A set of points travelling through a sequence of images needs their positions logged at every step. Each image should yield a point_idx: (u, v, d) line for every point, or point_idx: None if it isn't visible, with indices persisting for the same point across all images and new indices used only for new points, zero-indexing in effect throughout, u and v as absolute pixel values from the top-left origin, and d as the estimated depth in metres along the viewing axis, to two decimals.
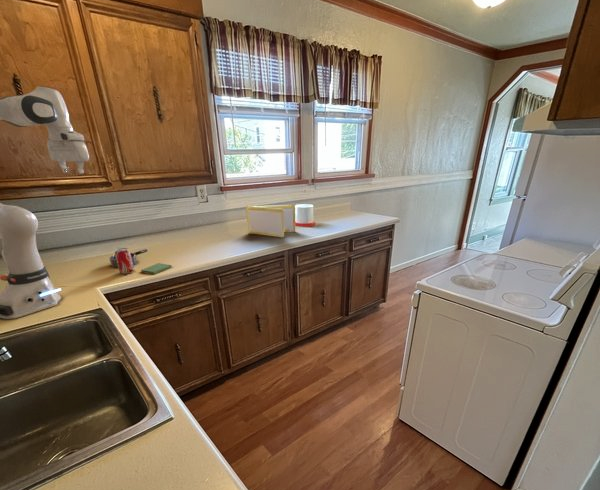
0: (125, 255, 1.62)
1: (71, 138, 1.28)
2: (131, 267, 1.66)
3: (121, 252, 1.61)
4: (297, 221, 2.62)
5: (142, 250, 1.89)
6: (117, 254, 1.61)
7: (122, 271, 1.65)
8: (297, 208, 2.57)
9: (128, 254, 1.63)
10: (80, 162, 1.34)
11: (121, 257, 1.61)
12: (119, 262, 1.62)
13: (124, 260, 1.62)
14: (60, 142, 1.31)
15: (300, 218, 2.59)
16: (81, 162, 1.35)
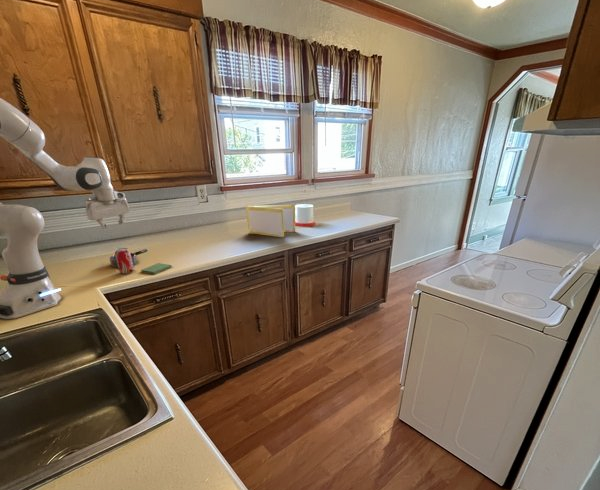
0: (125, 255, 1.62)
1: None
2: (131, 267, 1.66)
3: (121, 252, 1.61)
4: (297, 221, 2.62)
5: (142, 250, 1.89)
6: (117, 254, 1.61)
7: (122, 271, 1.65)
8: (297, 208, 2.57)
9: (128, 254, 1.63)
10: None
11: (121, 257, 1.61)
12: (119, 262, 1.62)
13: (124, 260, 1.62)
14: (112, 200, 1.51)
15: (300, 218, 2.59)
16: None
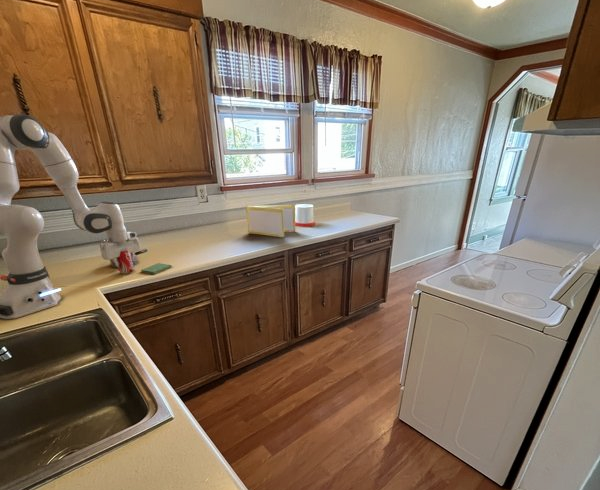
0: (125, 255, 1.62)
1: None
2: (131, 267, 1.66)
3: (121, 252, 1.61)
4: (297, 221, 2.62)
5: (142, 250, 1.89)
6: None
7: (122, 271, 1.65)
8: (297, 208, 2.57)
9: (128, 254, 1.63)
10: None
11: (121, 257, 1.61)
12: None
13: (124, 260, 1.62)
14: (125, 240, 1.61)
15: (300, 218, 2.59)
16: None
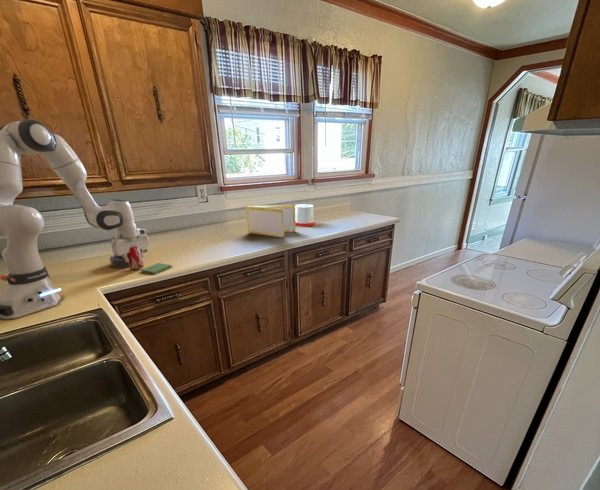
0: (135, 251, 1.66)
1: None
2: (141, 262, 1.70)
3: (131, 248, 1.65)
4: (297, 221, 2.62)
5: None
6: None
7: (132, 266, 1.69)
8: (297, 208, 2.57)
9: (137, 250, 1.67)
10: None
11: (131, 253, 1.66)
12: None
13: (134, 256, 1.67)
14: (135, 237, 1.66)
15: (300, 218, 2.59)
16: None
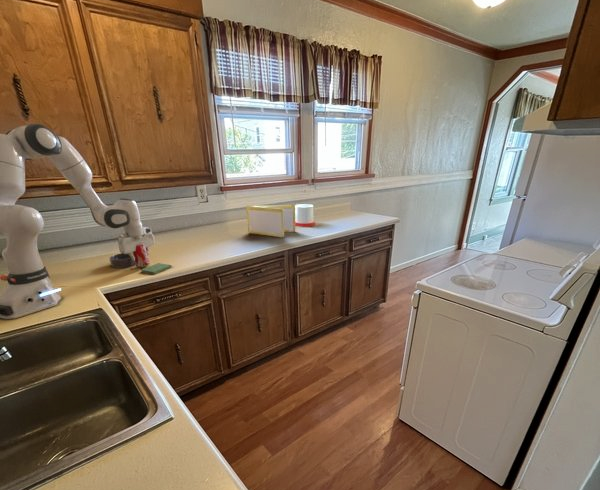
0: (141, 249, 1.69)
1: None
2: (146, 260, 1.73)
3: (137, 246, 1.68)
4: (297, 221, 2.62)
5: None
6: None
7: (138, 264, 1.72)
8: (297, 208, 2.57)
9: (143, 248, 1.70)
10: None
11: (137, 251, 1.69)
12: None
13: (140, 254, 1.70)
14: (141, 235, 1.69)
15: (300, 218, 2.59)
16: None
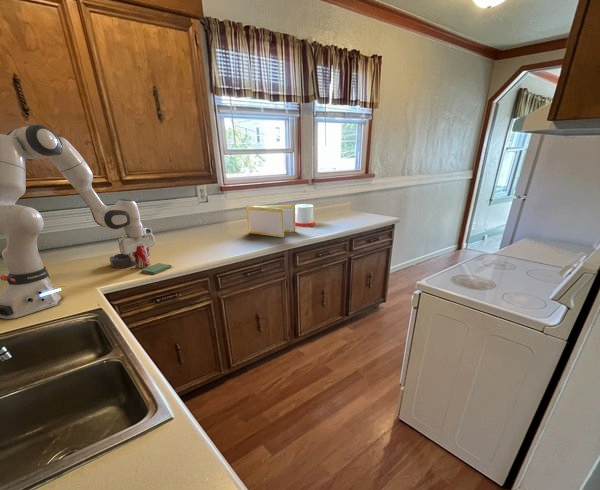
0: (142, 250, 1.70)
1: None
2: (147, 261, 1.74)
3: (138, 247, 1.69)
4: (297, 221, 2.62)
5: None
6: None
7: (138, 265, 1.73)
8: (297, 208, 2.57)
9: (144, 249, 1.71)
10: None
11: (138, 252, 1.69)
12: (136, 256, 1.70)
13: (140, 255, 1.70)
14: (141, 236, 1.69)
15: (300, 218, 2.59)
16: None
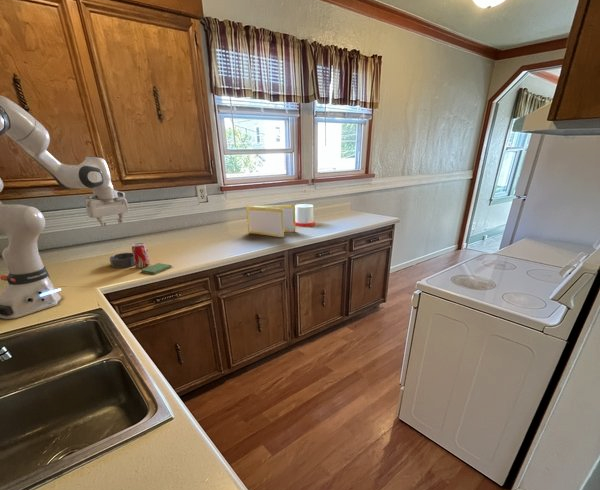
0: (142, 250, 1.70)
1: None
2: (147, 261, 1.74)
3: (138, 247, 1.69)
4: (297, 221, 2.62)
5: None
6: (134, 249, 1.69)
7: (138, 265, 1.73)
8: (297, 208, 2.57)
9: (144, 249, 1.71)
10: None
11: (138, 252, 1.69)
12: (136, 256, 1.70)
13: (140, 255, 1.70)
14: (112, 199, 1.55)
15: (300, 218, 2.59)
16: None
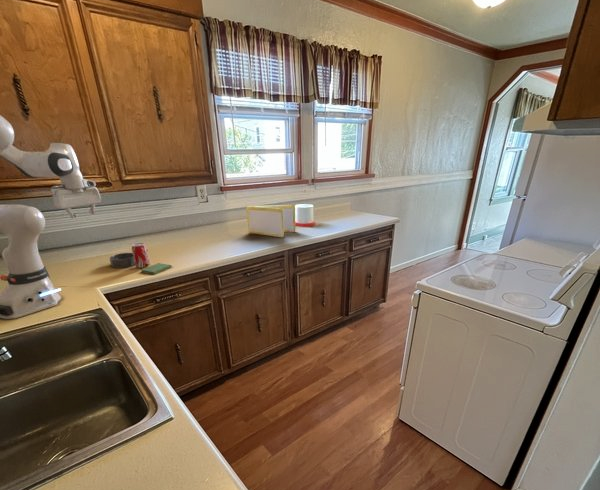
0: (142, 250, 1.70)
1: None
2: (147, 261, 1.74)
3: (138, 247, 1.69)
4: (297, 221, 2.62)
5: None
6: (134, 249, 1.69)
7: (138, 265, 1.73)
8: (297, 208, 2.57)
9: (144, 249, 1.71)
10: None
11: (138, 252, 1.69)
12: (136, 256, 1.70)
13: (140, 255, 1.70)
14: (82, 189, 1.46)
15: (300, 218, 2.59)
16: None
